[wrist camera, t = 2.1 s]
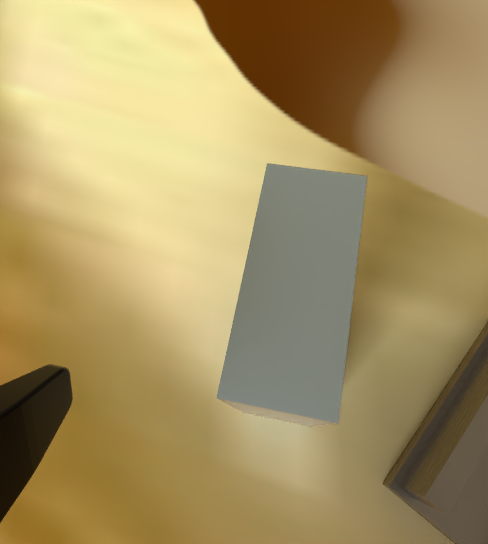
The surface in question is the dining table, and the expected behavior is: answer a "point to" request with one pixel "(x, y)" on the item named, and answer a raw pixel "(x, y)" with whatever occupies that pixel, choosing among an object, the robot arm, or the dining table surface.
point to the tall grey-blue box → (296, 298)
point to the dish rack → (452, 455)
